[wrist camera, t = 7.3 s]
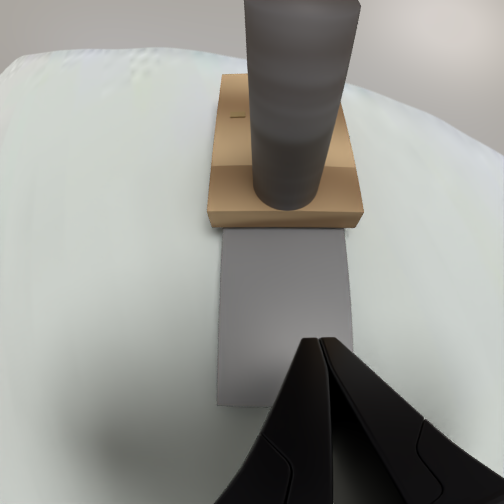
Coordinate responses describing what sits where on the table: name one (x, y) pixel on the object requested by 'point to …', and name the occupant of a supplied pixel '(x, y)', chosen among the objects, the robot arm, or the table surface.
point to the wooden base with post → (287, 121)
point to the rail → (277, 305)
